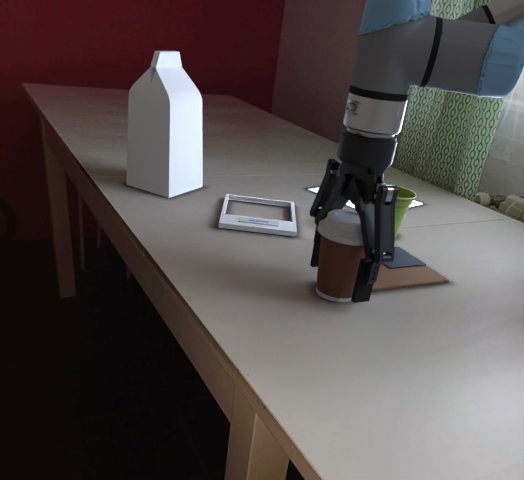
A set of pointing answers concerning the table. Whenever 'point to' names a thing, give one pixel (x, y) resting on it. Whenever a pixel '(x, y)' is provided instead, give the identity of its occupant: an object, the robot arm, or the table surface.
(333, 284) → the coffee cup
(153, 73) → the milk
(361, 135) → the robot arm
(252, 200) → the photo frame
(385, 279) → the placemat
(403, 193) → the plant pot
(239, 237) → the table surface
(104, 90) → the table surface
